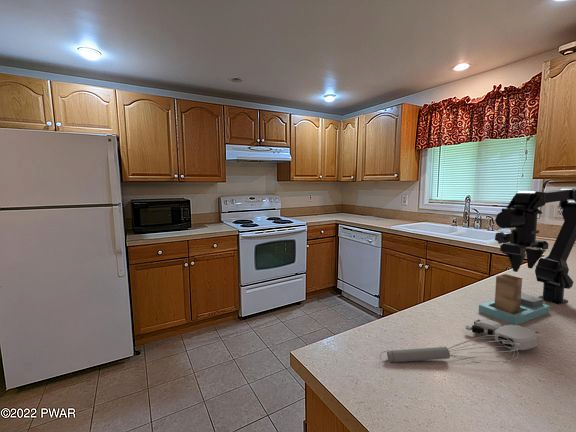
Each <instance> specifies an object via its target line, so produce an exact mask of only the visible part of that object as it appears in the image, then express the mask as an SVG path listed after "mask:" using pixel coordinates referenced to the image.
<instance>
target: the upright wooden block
mask: <svg viewBox="0 0 576 432" xmlns="http://www.w3.org/2000/svg"><path fill="white" fill-rule="evenodd" d="M522 287H523V277H518V276H513V275H510V274H506V273H504V274H500V275H497V276H495V291H494V293H495V294H494V300H495V306H494V308H496V309H499V310H502V311H505V312H508V313H511V314H513V315H514V314H517V313H520V303H521V293H522Z"/></svg>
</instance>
